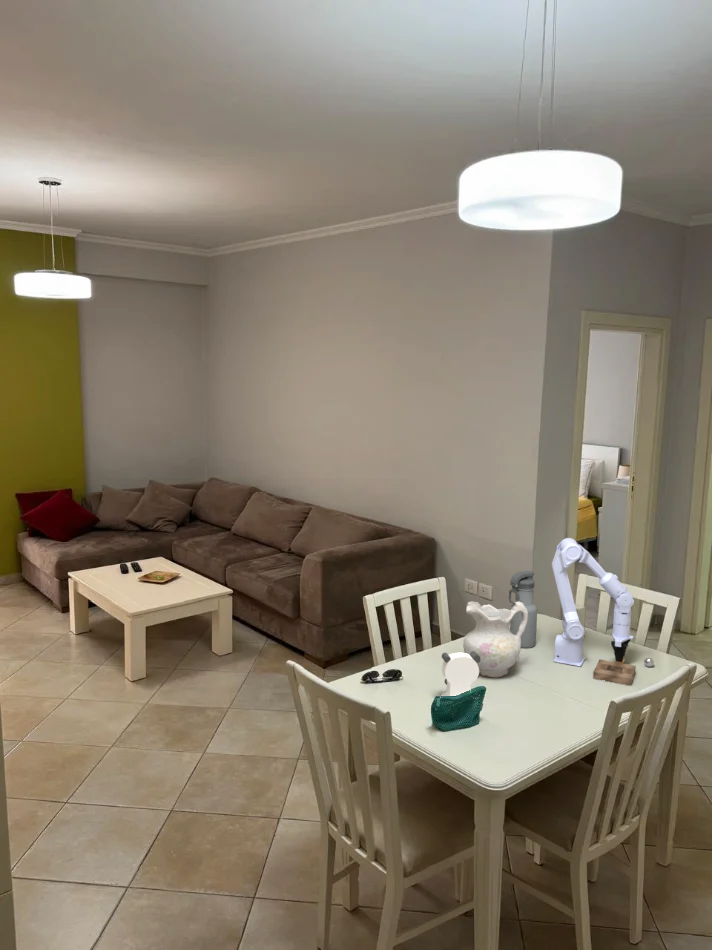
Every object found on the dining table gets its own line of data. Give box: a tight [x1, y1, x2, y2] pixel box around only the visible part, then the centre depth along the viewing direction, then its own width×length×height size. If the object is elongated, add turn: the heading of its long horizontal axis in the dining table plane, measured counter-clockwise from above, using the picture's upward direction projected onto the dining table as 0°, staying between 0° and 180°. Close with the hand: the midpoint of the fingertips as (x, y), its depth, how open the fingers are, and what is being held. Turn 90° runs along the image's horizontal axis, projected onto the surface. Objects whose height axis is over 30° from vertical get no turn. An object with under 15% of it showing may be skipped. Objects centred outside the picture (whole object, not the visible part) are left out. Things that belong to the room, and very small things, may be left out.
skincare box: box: [574, 603, 586, 638], centre depth 284 cm, size 6×4×12 cm
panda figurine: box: [440, 651, 481, 697], centre depth 228 cm, size 12×11×15 cm
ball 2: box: [643, 656, 655, 668], centre depth 255 cm, size 3×3×3 cm
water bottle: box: [508, 570, 538, 649], centre depth 274 cm, size 10×10×28 cm
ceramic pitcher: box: [462, 601, 528, 679], centre depth 250 cm, size 22×20×25 cm
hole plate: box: [592, 659, 637, 686], centre depth 247 cm, size 12×12×2 cm
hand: (619, 659), depth 258 cm, fingers closed on ball 1, 3 cm apart
